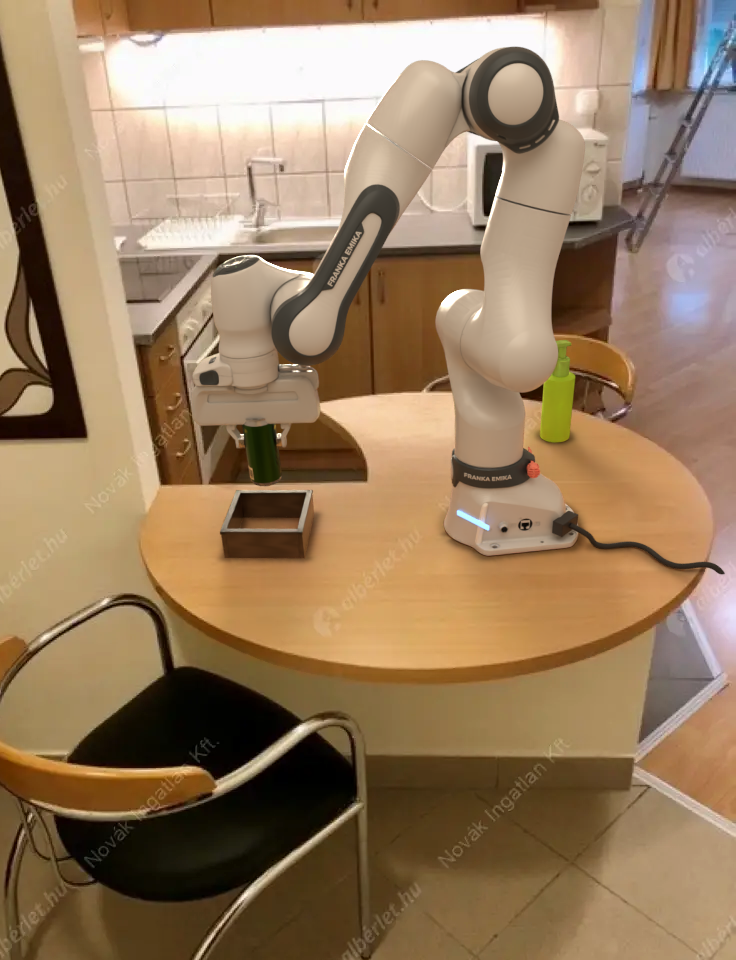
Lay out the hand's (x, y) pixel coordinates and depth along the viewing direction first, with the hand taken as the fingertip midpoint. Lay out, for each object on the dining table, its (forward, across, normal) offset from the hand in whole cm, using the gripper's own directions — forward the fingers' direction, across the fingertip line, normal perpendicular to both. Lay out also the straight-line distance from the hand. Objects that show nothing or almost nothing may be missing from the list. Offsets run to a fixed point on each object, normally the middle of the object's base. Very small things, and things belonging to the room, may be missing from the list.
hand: (261, 446), depth 139 cm
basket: (+18, +1, 0) cm, 18 cm away
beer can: (+6, 0, 0) cm, 6 cm away
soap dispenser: (+19, -51, -38) cm, 66 cm away
